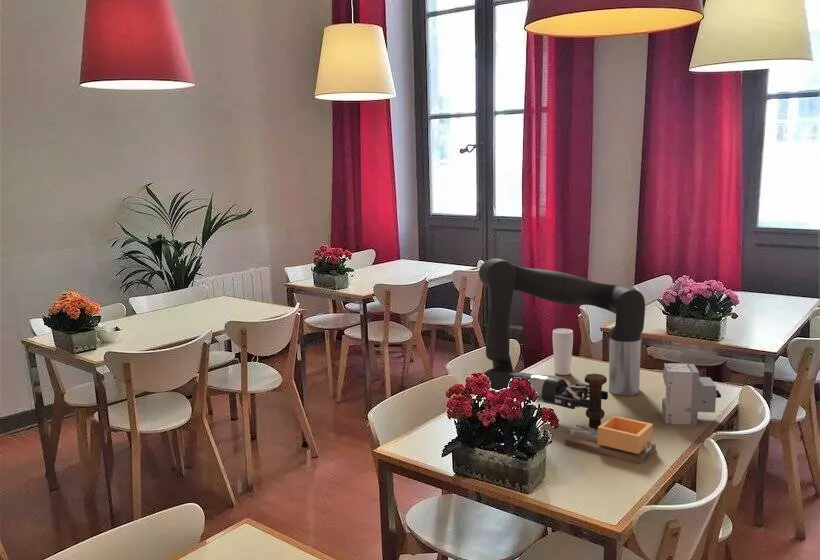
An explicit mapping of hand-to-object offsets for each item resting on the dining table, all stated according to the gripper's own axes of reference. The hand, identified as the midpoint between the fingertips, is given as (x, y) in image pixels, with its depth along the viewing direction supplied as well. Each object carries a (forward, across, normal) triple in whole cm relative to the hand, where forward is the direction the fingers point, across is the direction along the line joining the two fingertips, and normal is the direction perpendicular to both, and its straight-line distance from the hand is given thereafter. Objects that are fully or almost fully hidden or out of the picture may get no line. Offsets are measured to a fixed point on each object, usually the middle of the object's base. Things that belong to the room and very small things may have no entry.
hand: (601, 400), depth 188 cm
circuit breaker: (+17, +21, +9) cm, 29 cm away
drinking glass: (-31, +39, +9) cm, 50 cm away
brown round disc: (-27, +20, +9) cm, 35 cm away
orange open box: (+10, -9, +6) cm, 15 cm away
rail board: (+6, -9, +8) cm, 14 cm away
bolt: (-2, 0, +9) cm, 9 cm away
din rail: (+6, -9, +7) cm, 13 cm away
